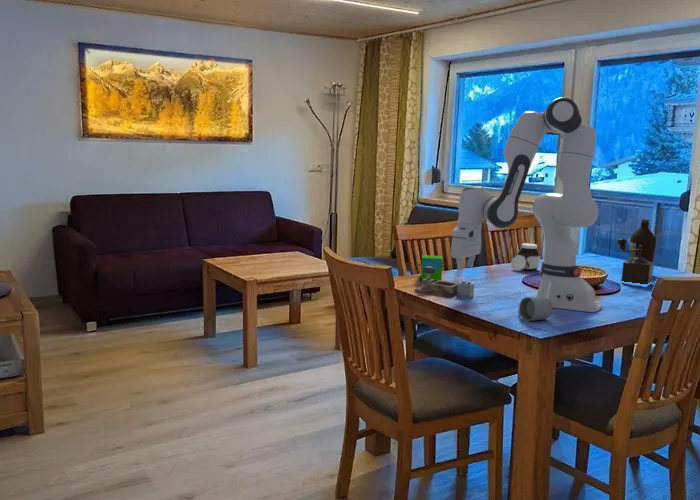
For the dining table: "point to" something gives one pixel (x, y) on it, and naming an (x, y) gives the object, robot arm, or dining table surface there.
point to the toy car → (432, 262)
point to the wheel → (428, 271)
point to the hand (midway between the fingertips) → (465, 268)
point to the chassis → (438, 288)
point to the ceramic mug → (535, 308)
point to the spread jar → (526, 258)
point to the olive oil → (643, 242)
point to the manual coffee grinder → (636, 266)
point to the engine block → (465, 289)
